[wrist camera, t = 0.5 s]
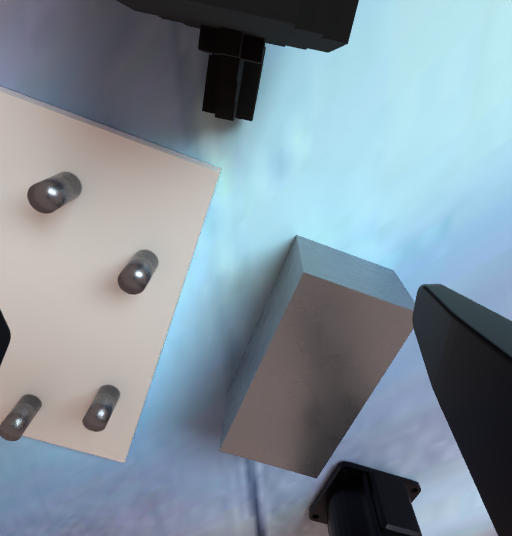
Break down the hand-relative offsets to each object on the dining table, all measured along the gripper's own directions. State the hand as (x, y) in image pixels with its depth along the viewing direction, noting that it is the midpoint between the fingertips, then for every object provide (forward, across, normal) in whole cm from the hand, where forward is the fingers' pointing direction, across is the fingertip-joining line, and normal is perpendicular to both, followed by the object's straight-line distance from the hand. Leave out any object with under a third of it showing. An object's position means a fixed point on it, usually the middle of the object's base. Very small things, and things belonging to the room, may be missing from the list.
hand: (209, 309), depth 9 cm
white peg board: (+13, +11, +9) cm, 19 cm away
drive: (+12, -4, +12) cm, 17 cm away
